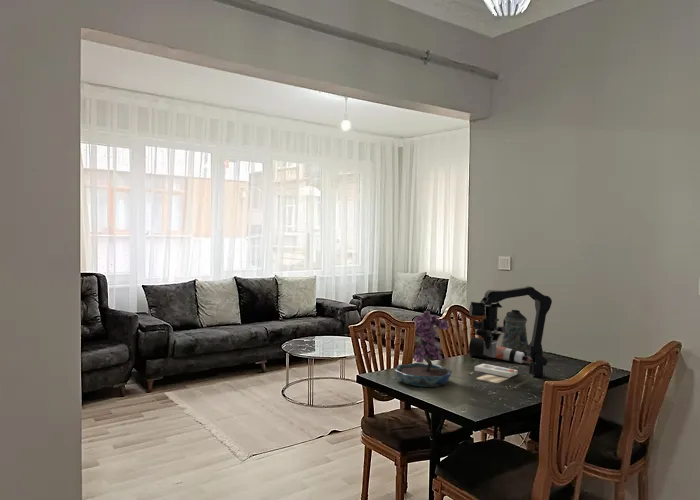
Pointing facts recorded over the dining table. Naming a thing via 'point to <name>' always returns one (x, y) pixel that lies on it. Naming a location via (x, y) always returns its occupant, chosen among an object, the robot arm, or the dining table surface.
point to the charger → (490, 349)
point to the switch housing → (496, 370)
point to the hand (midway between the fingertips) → (490, 348)
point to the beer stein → (515, 331)
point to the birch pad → (491, 378)
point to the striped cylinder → (501, 352)
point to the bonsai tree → (425, 356)
